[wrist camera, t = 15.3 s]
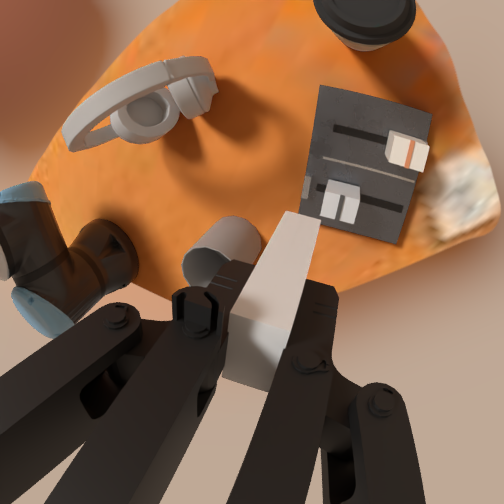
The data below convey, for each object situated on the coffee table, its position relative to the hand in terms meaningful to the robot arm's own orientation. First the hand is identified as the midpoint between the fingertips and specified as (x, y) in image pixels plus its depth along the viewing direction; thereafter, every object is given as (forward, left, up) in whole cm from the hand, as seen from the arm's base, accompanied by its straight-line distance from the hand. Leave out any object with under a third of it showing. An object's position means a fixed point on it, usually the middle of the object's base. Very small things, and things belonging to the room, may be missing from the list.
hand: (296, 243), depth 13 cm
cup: (-12, -18, -29) cm, 36 cm away
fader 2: (+8, +2, -27) cm, 28 cm away
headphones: (-22, +3, -29) cm, 37 cm away
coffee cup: (+1, +16, -29) cm, 33 cm away
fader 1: (+2, -6, -27) cm, 27 cm away
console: (+4, -2, -29) cm, 29 cm away
